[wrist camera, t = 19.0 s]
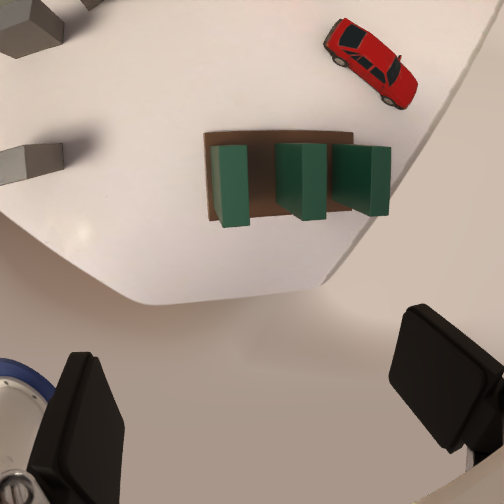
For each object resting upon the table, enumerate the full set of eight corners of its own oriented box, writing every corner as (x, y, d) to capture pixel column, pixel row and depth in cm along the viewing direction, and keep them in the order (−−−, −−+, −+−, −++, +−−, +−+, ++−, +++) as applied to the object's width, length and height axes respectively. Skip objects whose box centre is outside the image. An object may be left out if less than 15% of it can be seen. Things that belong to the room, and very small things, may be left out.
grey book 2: (64, 169, 32) (27, 179, 23) (18, 178, 31) (-25, 192, 22) (62, 143, 31) (24, 144, 22) (15, 153, 30) (-29, 160, 20)
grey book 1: (62, 44, 27) (29, 19, 17) (15, 59, 25) (-25, 42, 16) (64, 22, 26) (33, -7, 16) (18, 37, 24) (-20, 17, 15)
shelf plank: (346, 208, 41) (352, 210, 39) (208, 218, 38) (209, 221, 36) (347, 132, 37) (353, 132, 36) (203, 133, 34) (204, 133, 33)
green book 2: (294, 142, 35) (327, 143, 27) (295, 201, 38) (326, 219, 29) (274, 143, 35) (301, 143, 26) (275, 203, 37) (302, 221, 29)
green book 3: (349, 144, 36) (391, 147, 28) (348, 199, 39) (388, 215, 31) (331, 143, 36) (371, 145, 28) (331, 200, 38) (369, 216, 30)
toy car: (395, 115, 38) (418, 114, 33) (313, 50, 33) (330, 40, 29) (412, 83, 37) (434, 79, 32) (335, 18, 32) (352, 6, 27)
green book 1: (231, 144, 34) (247, 144, 26) (234, 206, 36) (250, 225, 28) (210, 145, 34) (218, 146, 25) (213, 207, 36) (222, 228, 28)
